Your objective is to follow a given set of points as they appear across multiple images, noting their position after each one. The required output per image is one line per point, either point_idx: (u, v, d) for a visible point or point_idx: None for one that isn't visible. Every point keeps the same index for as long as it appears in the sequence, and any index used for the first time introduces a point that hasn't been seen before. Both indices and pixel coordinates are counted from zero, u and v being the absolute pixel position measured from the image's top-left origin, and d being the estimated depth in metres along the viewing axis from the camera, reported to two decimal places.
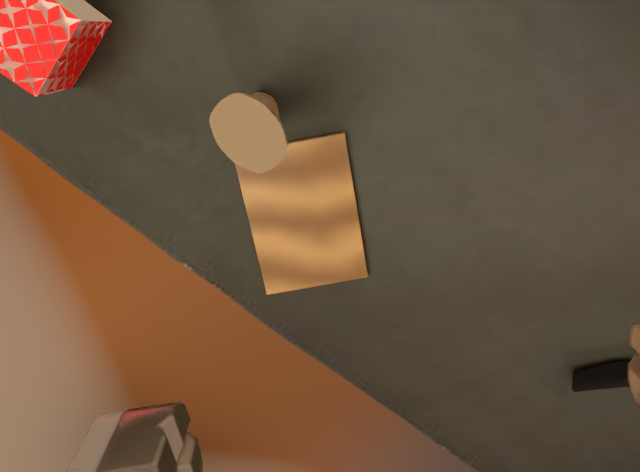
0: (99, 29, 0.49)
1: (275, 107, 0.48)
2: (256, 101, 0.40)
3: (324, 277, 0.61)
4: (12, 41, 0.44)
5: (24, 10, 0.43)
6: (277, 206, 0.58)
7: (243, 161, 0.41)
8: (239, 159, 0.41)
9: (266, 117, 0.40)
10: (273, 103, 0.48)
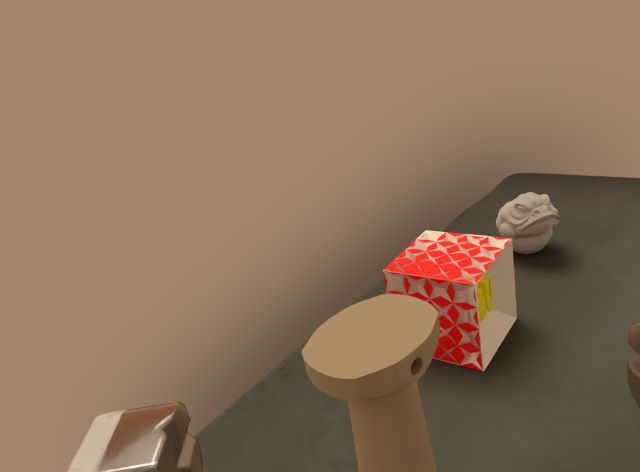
0: (470, 346, 0.41)
1: None
2: (430, 330, 0.22)
3: None
4: (434, 254, 0.44)
5: (468, 256, 0.42)
6: None
7: (323, 333, 0.24)
8: (326, 329, 0.24)
9: (405, 344, 0.22)
10: None
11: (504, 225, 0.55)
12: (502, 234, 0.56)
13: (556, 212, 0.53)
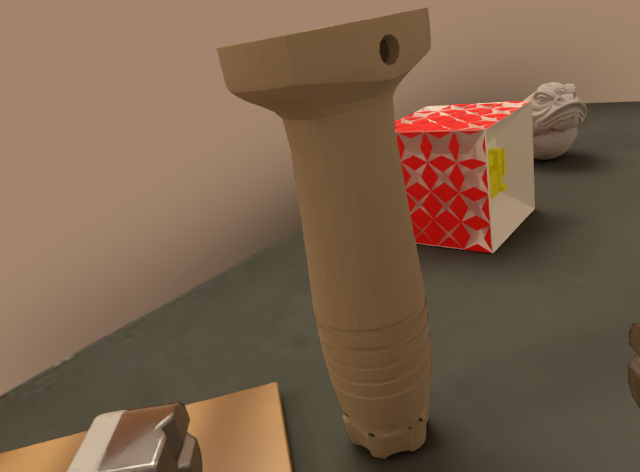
0: (476, 220, 0.33)
1: (398, 308, 0.17)
2: (413, 10, 0.14)
3: None
4: (436, 118, 0.36)
5: (477, 115, 0.34)
6: None
7: None
8: None
9: None
10: (408, 313, 0.17)
11: None
12: None
13: (583, 103, 0.45)
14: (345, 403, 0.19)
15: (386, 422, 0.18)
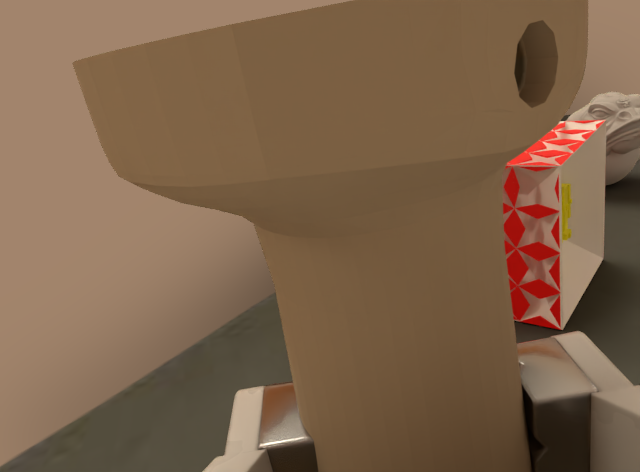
0: (540, 285, 0.24)
1: None
2: None
3: None
4: None
5: (537, 141, 0.26)
6: None
7: None
8: None
9: None
10: None
11: None
12: None
13: None
14: None
15: None
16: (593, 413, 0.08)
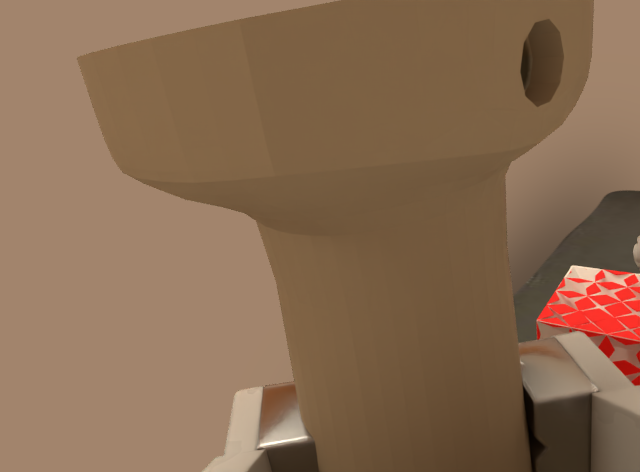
0: None
1: None
2: None
3: None
4: (602, 301, 0.34)
5: None
6: None
7: None
8: None
9: None
10: None
11: None
12: None
13: None
14: None
15: None
16: (593, 413, 0.08)
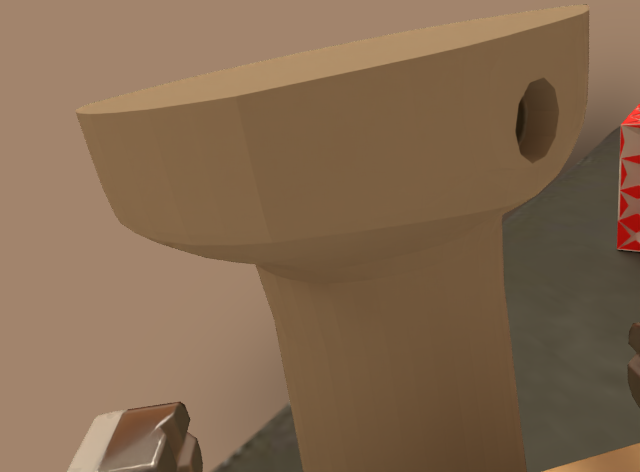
0: None
1: None
2: (580, 11, 0.06)
3: None
4: None
5: None
6: None
7: (191, 79, 0.07)
8: (207, 74, 0.07)
9: (487, 32, 0.05)
10: None
11: None
12: None
13: None
14: None
15: None
16: None
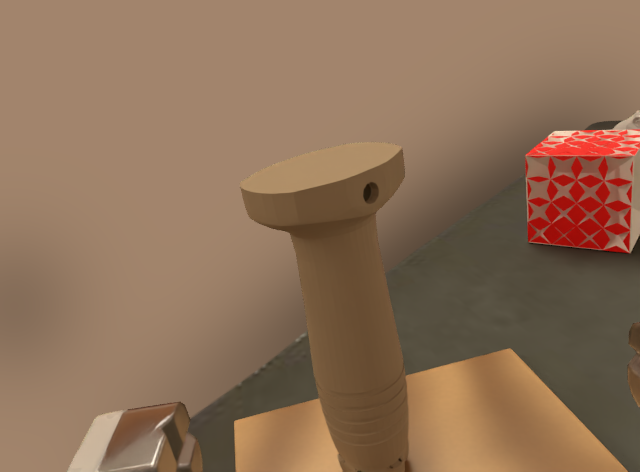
0: (618, 226, 0.41)
1: (380, 376, 0.21)
2: (389, 157, 0.19)
3: None
4: (575, 143, 0.44)
5: (613, 142, 0.43)
6: (428, 411, 0.28)
7: (268, 171, 0.20)
8: (273, 168, 0.21)
9: (358, 168, 0.18)
10: (388, 379, 0.22)
11: None
12: None
13: None
14: (338, 447, 0.23)
15: (372, 463, 0.23)
16: None
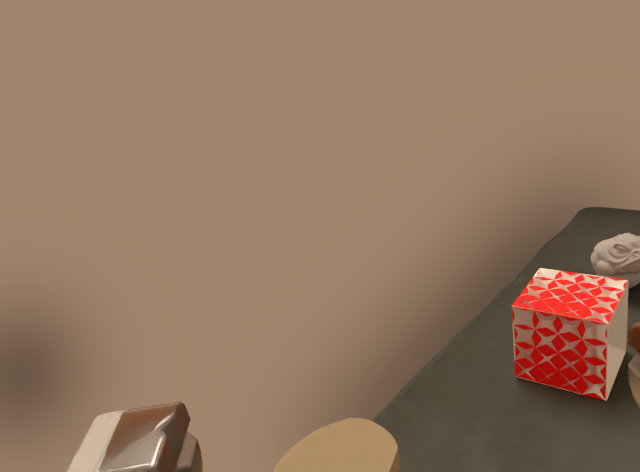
0: (595, 377, 0.46)
1: None
2: (387, 469, 0.23)
3: None
4: (557, 293, 0.48)
5: (591, 296, 0.47)
6: None
7: (287, 463, 0.25)
8: (291, 457, 0.25)
9: None
10: None
11: (602, 263, 0.59)
12: (599, 271, 0.60)
13: None
14: None
15: None
16: None
